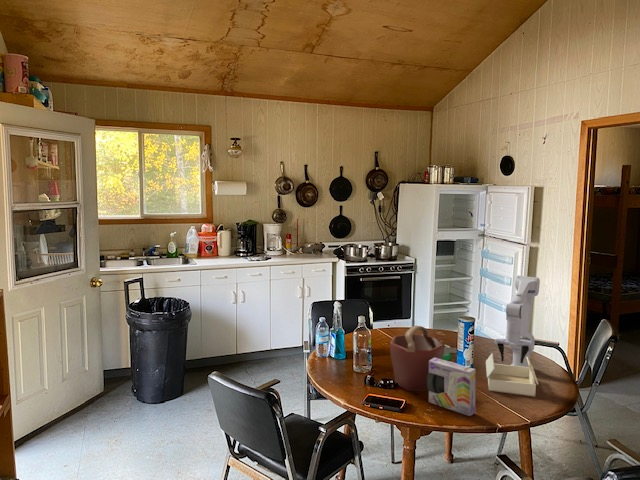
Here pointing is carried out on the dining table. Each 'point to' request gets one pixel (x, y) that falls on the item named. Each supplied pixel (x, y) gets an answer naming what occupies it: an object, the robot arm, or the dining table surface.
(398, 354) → the bucket
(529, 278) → the robot arm
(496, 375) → the carton
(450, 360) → the food container
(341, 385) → the dining table surface
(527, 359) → the cream flap
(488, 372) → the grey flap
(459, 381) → the cake pan box
